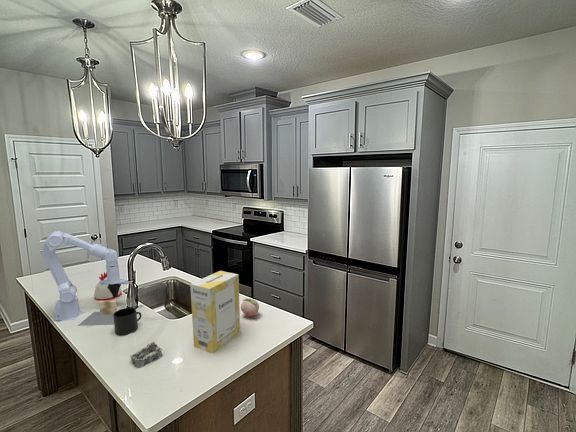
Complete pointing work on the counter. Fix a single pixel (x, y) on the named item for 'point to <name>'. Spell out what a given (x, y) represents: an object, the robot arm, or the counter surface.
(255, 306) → the decorative fruit
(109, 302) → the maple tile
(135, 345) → the counter surface
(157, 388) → the counter surface
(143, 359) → the grey rough flat block
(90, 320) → the picture frame
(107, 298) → the cream dome
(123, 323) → the mug
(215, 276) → the pasta box
